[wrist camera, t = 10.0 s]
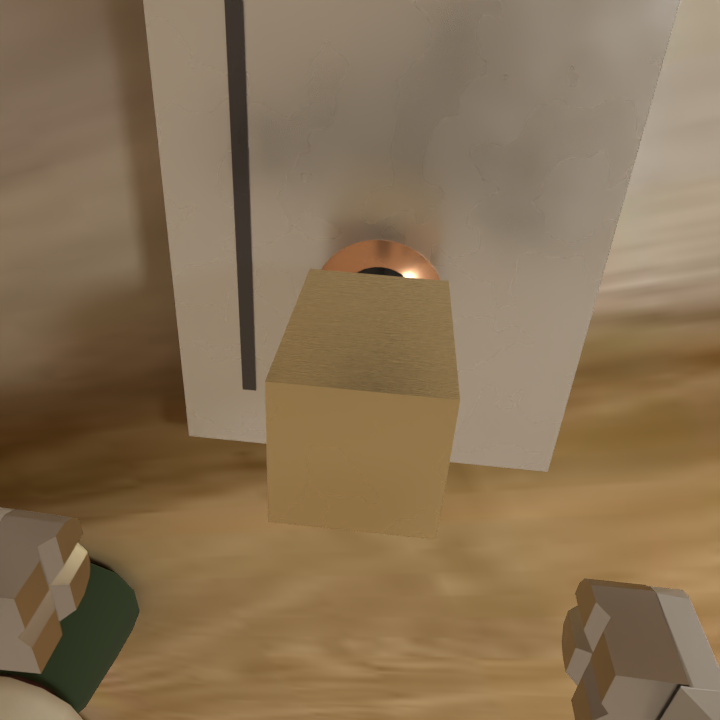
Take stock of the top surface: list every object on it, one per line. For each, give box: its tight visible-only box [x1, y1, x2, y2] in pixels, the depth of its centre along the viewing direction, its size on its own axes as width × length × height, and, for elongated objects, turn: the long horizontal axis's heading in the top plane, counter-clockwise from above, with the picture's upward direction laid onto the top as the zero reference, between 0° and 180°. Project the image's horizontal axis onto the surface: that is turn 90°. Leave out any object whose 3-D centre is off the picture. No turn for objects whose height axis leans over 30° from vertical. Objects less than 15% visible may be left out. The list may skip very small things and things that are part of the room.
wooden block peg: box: [265, 269, 460, 539], centre depth 17 cm, size 4×4×8 cm
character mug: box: [0, 563, 139, 720], centre depth 27 cm, size 11×7×13 cm, turn 29°
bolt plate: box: [143, 0, 680, 472], centre depth 14 cm, size 27×14×10 cm, turn 177°
